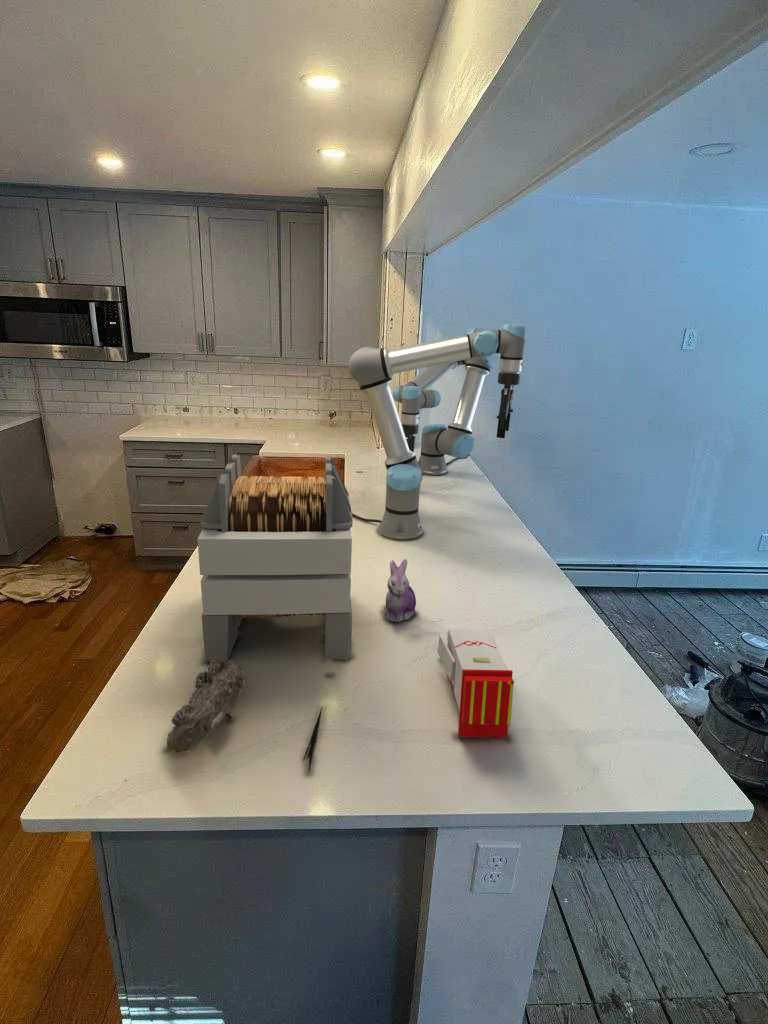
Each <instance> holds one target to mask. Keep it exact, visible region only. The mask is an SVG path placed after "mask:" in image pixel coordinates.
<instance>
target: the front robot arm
mask: <svg viewBox="0 0 768 1024" xmlns="http://www.w3.org/2000/svg"><path fill="white" fill-rule="evenodd" d="M526 335H527V327H526V326H525V325H524V324H516V323H515V324H514V323H512V324H511V323H505V324H503V327H502V329H489V328H487V329H486V328H469V329H467V331H466V334H461V335H457V336H450V337H447V338H441V339H438V340H432V341H427V342H422V343H417V344H412V345H407V346H402V347H398V348H393V349H388V348H387V347H381V348H380V347H377V346H374V345H367V346H363V347H361V348H359V349H358V350H357V349H356V351H355V352H353V353H352V355H351V356H350V358H349V361H348V370H349V374H350V375H351V377H352V378H353V380H355V381H356V382H357V383H358V386H359V391H361V392H362V393H364V394H366V397H367V401H368V404H369V407H370V410H371V413H372V416H373V419H374V421H375V422H374V423H375V424H376V428H377V431H378V434H379V437H380V440H381V443H382V446H383V449H384V452H385V455H386V459H385V461H384V466H385V468H386V475H385V481H386V486H385V487H386V488H385V504H384V505H385V507H384V508H385V509H384V513H383V515H382V519H375V518H364V517H361V516H359V515H357V514H355V513H352V518H354V519H357V520H359V521H362V522H368V523H377V524H378V523H379V526H378V533H379V534H380V535H381V536H382V537H385V538H387V539H389V540H395V541H410V540H415V539H418V538H420V537H421V536H422V535H423V524H422V521H421V518H420V515H419V507H420V506H419V505H420V491H421V483H422V480H423V474H422V469H421V467H420V465H419V464H418V458H417V456H416V453H415V451H414V452H412V451H410V450H409V447H408V444H407V441H406V437H405V434H404V431H403V428H402V425H401V424H402V423H401V417H400V415H399V412H398V408H397V406H396V403H395V402H396V401H395V400H394V398H393V392H392V389H391V384H392V382H393V378H392V377H393V376H394V375H395V374H400V373H404V372H409V371H415V370H419V369H425V368H427V367H430V366H435V365H440V364H445V363H450V362H455V361H460V360H465V359H470V358H476V357H481V356H483V357H487V356H490V355H492V354H493V353H499V361H498V371H499V372H498V374H497V383H498V384H499V385H503V388H502V389H501V391H500V405H499V411H498V415H496V420H497V419H498V421H497V428H496V429H497V430H496V436H495V437H496V438H497V439H505V438H506V432H509V430H510V421H511V414H512V413H514V409H513V407H512V406H513V398H514V393H515V389H514V387H515V386H518V385H519V386H520V384H521V378H522V377H521V376H522V374H521V372H522V367H523V366H525V362H523V359H524V351H525V345H526V340H527V339H526V337H527V336H526Z"/></svg>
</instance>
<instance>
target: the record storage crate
mask: <svg viewBox="0 0 768 1024" xmlns="http://www.w3.org/2000/svg"><path fill="white" fill-rule="evenodd" d="M324 457H325V458H324V459H325V461H324V462H325V463H324V464H325V465H324V468H325V469H324V476H318V477H316V476H307V477H303V476H288V475H287V476H280V477H279V476H274V475H270V476H268V475H259V476H258V475H255V476H254V475H250V476H247V475H242V466H241V456H240V454H231V457H230V459H229V462H227V463H226V466H225V467H224V470H223V472H222V474H220V476H219V478H218V480H217V482H216V484H215V487H214V488H213V491H212V493H211V496H210V498H209V500H208V502H207V505H206V507H205V509H204V511H203V513H202V516H201V518H200V527H201V532H200V533H199V535H198V537H197V550H198V565H199V576H202V577H201V579H200V590H201V591H200V592H201V606H202V607H201V608H202V613H201V626H202V627H201V629H202V640H203V646H204V658H203V660H204V662H208V663H210V662H211V661H212V660H217V661H222V662H223V661H224V660H227V659H228V660H229V658H230V655H231V653H232V650H233V648H234V645H235V643H236V640H237V638H238V628H240V625H241V621H242V619H243V618H282V617H283V618H289V617H290V618H293V617H297V618H298V617H314V616H315V617H320V616H321V617H324V653H325V654H324V655H325V660H338V659H339V660H348V659H350V658H352V644H353V643H352V641H353V639H352V638H353V610H352V600H351V588H352V587H351V586H352V582H351V581H352V577H351V574H352V553H353V552H352V548H353V547H352V546H353V537H352V530H351V528H352V527H353V523H354V520H353V516H352V506H351V501H350V500H351V499H350V494H349V491H348V489H347V487H346V485H345V483H344V481H343V478H342V477H341V474H340V472H339V470H338V468H337V466H336V463H335V461H334V460H333V457H332V455H328V454H327V455H326V454H325V456H324Z"/></svg>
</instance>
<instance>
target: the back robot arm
mask: <svg viewBox="0 0 768 1024" xmlns="http://www.w3.org/2000/svg"><path fill="white" fill-rule="evenodd" d="M499 362H500V353H493V354H492V355H490V356H487V357H483V356H481V357H476V358H470V359H465V360H460V361H455V362H450V363H445V364H440V365H435V366H430V367H425V368H423V370H421V372H419V373H418V374H417V375H415V376H414V377H413V378H412V379H411V380H409V381H408V382H407V383H406V384H404V385H403V384H401V385H400V384H399V385H396V386H395V387H394V388H393V390H392V396H393V399H394V402H397V403H400V404H401V415H400V421H401V425H402V428H403V431H404V434H405V437H406V441H407V444H408V447H409V450H410V451H412V452H414V453H415V444H416V443H415V442H416V435H418V434H419V422H420V420H421V416H420V413H421V411H420V410H422V409H434V408H437V407H438V406H439V405H440V403H441V399H442V396H441V394H440V392H439V391H438V390H436V389H429V388H430V387H431V386H432V385H434V384H435V383H436V382H437V381H438V380H440V379H441V378H442V377H443V376H445V374H447V373H448V372H449V371H450V370H455V369H457V368H458V367H459V366H464V369H465V371H466V373H465V377H464V380H463V383H462V387H461V390H460V394H459V398H458V401H457V405H456V409H455V412H454V415H453V419H452V422H451V423H449V424H448V425H446V424H441V423H439V424H435V423H434V424H426V425H424V426H423V427H422V430H421V440H420V456H419V459H418V460H417V462H418V464H419V465H420V467H421V469H422V475H425V476H443V475H446V474H447V473H448V465H449V464H451V463H453V462H454V461H456V460H461V459H464V458H468V456H470V457H471V453H472V451H473V449H474V447H475V437H474V436H473V430H472V423H473V419H474V416H475V412H476V409H477V406H478V402H479V399H480V395H481V392H482V388H483V384H484V382H485V377H486V376H488V375H489V374H490V372H491V370H493V369H494V368H496V367H497V366H498V365H499ZM445 455H446V456H450V457H453V459H451V460H450V461H448V462H447V461H446V459H445V458H446V457H445Z"/></svg>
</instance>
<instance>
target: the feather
mask: <svg viewBox="0 0 768 1024" xmlns="http://www.w3.org/2000/svg"><path fill="white" fill-rule="evenodd" d="M329 675H330V676H331V675H332V674H331V673H330V674H329ZM322 710H323V707H321V708H320V710H319V713H318V716H317V719H316V723H315V725H314V728H313V731H312V733H311V737H310V739H309V742H308V745H307V748H306V751H305V754H304V757H303V760H302V763H301V767H302V765H303V763H304V761H305V758H308V759H309V760H308V762H307V763H308V764H307V766H308V771H310V770H311V766H312V765H311V764H312V760H313V757H315V756H314V755H315V751H316V749H315V746H317V739H318V733H319V729H320V722H321V717H322V712H323V711H322ZM313 754H314V755H313ZM306 755H307V757H306Z"/></svg>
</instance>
